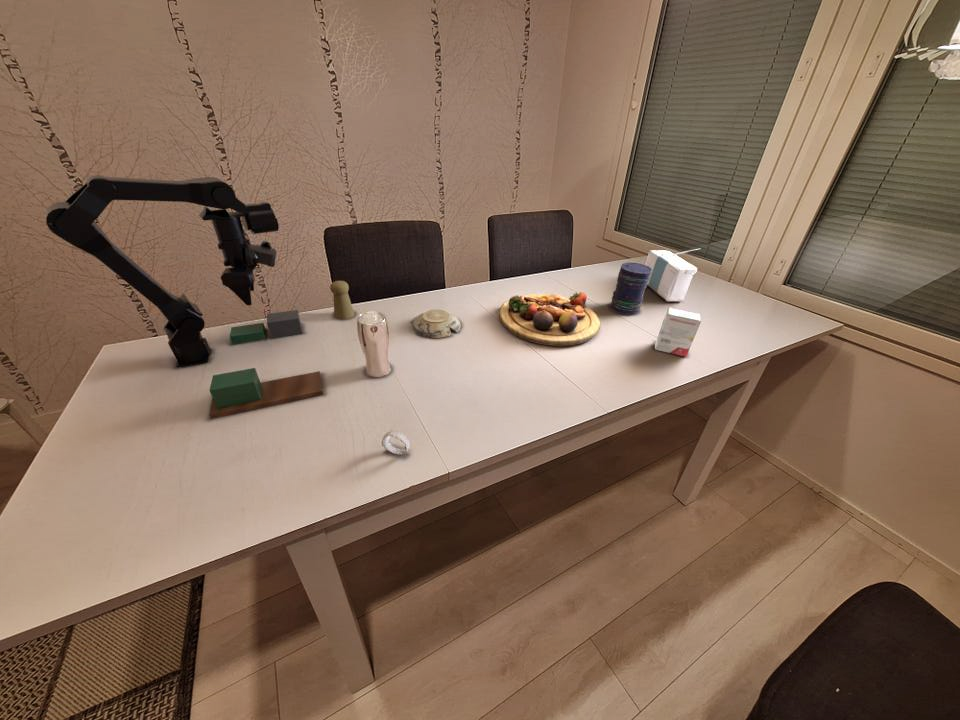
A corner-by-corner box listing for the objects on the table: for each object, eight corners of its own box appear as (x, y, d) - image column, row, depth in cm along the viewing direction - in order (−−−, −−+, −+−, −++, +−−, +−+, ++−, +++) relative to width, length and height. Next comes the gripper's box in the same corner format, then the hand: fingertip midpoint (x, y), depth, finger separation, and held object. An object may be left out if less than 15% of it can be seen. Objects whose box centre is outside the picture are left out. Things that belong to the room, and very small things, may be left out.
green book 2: (218, 408, 77) (213, 399, 76) (221, 392, 82) (217, 384, 80) (260, 400, 80) (257, 391, 79) (261, 385, 85) (258, 376, 83)
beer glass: (367, 381, 89) (359, 327, 81) (361, 366, 94) (352, 313, 86) (396, 374, 92) (390, 321, 84) (388, 360, 97) (382, 308, 89)
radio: (638, 281, 152) (654, 231, 141) (657, 281, 153) (674, 232, 142) (665, 303, 135) (684, 249, 124) (685, 303, 136) (707, 249, 125)
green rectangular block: (232, 344, 100) (229, 336, 98) (234, 334, 104) (231, 326, 102) (265, 339, 103) (263, 331, 101) (266, 329, 107) (263, 322, 105)
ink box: (686, 349, 109) (701, 313, 102) (686, 357, 105) (702, 321, 98) (655, 341, 112) (668, 306, 105) (654, 349, 108) (667, 313, 101)
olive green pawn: (348, 320, 113) (342, 287, 107) (330, 318, 114) (323, 284, 108) (357, 312, 118) (352, 279, 112) (340, 309, 119) (334, 277, 113)
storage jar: (641, 307, 131) (655, 266, 123) (635, 317, 124) (648, 275, 116) (614, 300, 135) (624, 260, 127) (606, 309, 128) (617, 268, 120)
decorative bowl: (426, 311, 121) (402, 331, 110) (426, 300, 119) (401, 319, 108) (468, 321, 117) (447, 343, 105) (468, 310, 115) (447, 332, 103)
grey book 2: (271, 338, 103) (269, 330, 102) (271, 329, 107) (269, 321, 106) (302, 333, 106) (300, 326, 105) (301, 324, 110) (299, 317, 109)
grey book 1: (269, 330, 102) (266, 322, 100) (269, 321, 106) (267, 313, 104) (300, 326, 105) (298, 318, 103) (299, 317, 109) (297, 309, 107)
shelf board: (210, 418, 77) (208, 414, 76) (215, 395, 83) (213, 391, 82) (323, 394, 85) (322, 390, 84) (320, 375, 91) (319, 371, 90)
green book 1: (213, 399, 76) (209, 390, 75) (217, 384, 80) (212, 374, 79) (257, 391, 79) (253, 381, 78) (258, 376, 83) (255, 367, 82)
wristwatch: (389, 443, 73) (386, 425, 71) (412, 450, 72) (410, 431, 69) (382, 454, 71) (379, 436, 68) (405, 461, 70) (403, 442, 67)
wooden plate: (567, 296, 136) (571, 274, 132) (619, 339, 112) (627, 315, 107) (485, 304, 127) (487, 282, 122) (523, 354, 102) (526, 328, 98)
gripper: (268, 246, 83) (284, 309, 92) (270, 225, 97) (284, 281, 106) (210, 250, 79) (233, 314, 88) (221, 227, 93) (240, 285, 102)
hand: (250, 297), depth 96 cm, fingers open, 9 cm apart
